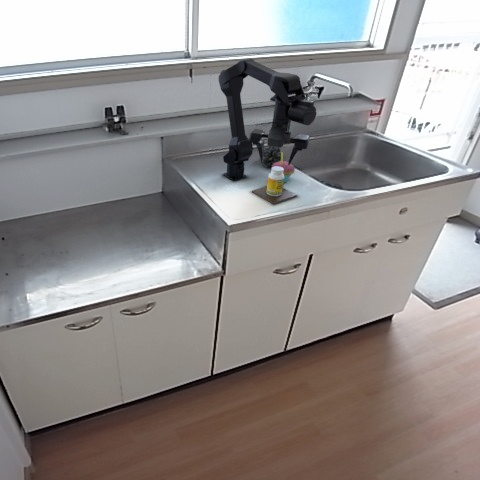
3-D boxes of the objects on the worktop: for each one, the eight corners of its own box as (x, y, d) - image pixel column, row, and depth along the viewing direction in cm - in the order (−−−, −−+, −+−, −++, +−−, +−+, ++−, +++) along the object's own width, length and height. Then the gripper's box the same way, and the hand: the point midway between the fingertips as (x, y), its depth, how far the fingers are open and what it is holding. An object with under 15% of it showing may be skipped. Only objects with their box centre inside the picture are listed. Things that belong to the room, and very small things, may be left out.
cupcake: (281, 186, 146) (286, 155, 139) (264, 178, 152) (269, 148, 145) (297, 180, 149) (303, 150, 143) (280, 173, 155) (285, 144, 149)
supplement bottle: (271, 188, 143) (275, 163, 138) (284, 193, 140) (288, 168, 134) (263, 193, 140) (266, 168, 135) (276, 198, 137) (280, 172, 131)
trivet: (251, 192, 142) (252, 190, 142) (274, 185, 147) (274, 183, 146) (273, 204, 134) (273, 203, 134) (296, 196, 139) (296, 195, 139)
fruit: (265, 135, 165) (268, 147, 153) (284, 142, 166) (288, 154, 153) (256, 153, 170) (258, 167, 158) (274, 160, 170) (277, 174, 158)
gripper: (247, 121, 123) (242, 167, 131) (309, 128, 116) (299, 176, 125) (255, 111, 131) (250, 155, 140) (314, 117, 124) (304, 163, 133)
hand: (275, 163), depth 134 cm, fingers open, 9 cm apart
